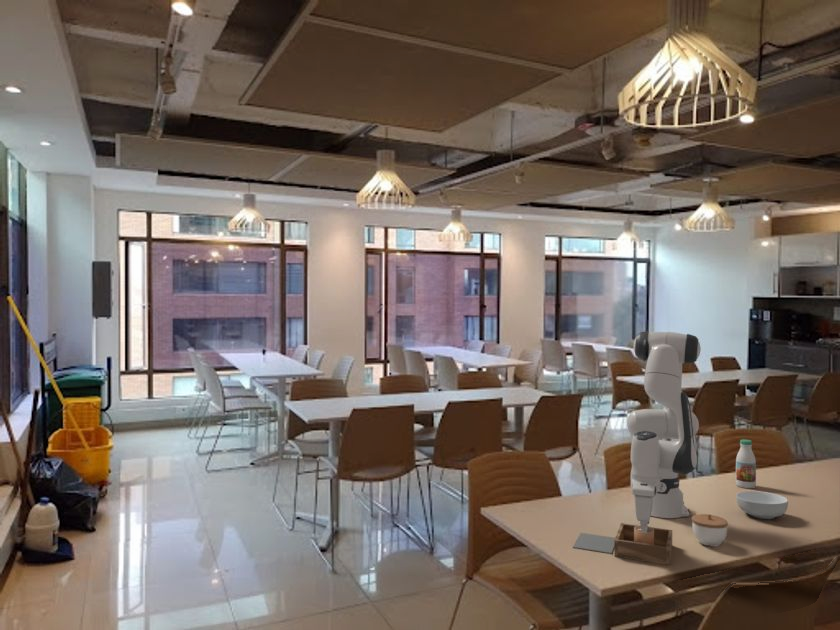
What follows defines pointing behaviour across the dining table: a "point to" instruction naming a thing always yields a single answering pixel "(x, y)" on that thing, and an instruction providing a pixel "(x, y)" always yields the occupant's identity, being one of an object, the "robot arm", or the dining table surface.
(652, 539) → the peach cylinder
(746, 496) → the cereal bowl
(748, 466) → the milk bottle
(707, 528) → the lidded jar
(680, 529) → the dining table surface
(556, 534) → the dining table surface
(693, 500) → the dining table surface
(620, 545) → the wooden frame
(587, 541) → the slate mat
